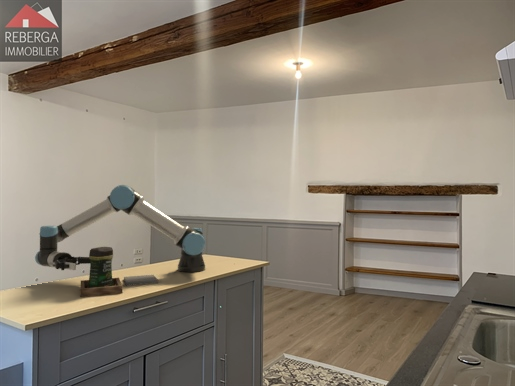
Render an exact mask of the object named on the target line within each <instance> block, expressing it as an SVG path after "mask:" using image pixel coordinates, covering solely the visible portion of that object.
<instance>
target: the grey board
mask: <svg viewBox="0 0 515 386" xmlns="http://www.w3.org/2000/svg"><path fill="white" fill-rule="evenodd" d="M123 281H124V283H125V285H126V286H137V285H151V284H158V283H159V279H158V278H157V277H156V276H155V275H154V274H144V275H142V274H141V275H132V276H131V275H129V276H123Z"/></svg>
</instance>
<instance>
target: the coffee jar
mask: <svg viewBox="0 0 515 386" xmlns="http://www.w3.org/2000/svg"><path fill="white" fill-rule="evenodd" d="M88 253H89V255H88V257H89V259H90V264H89V265H90V267H89V275H88V276H89V278H88V280H89V284H88V287H87V288H95V287H107V286H114V285H113V282H112V278H113V272H112V271H113V269H112V268H113V267H112V265H113V264H112V262H113V258H114V249H113V248H112V247H110V246H99V247H93V248H91V249H90V250H89V252H88Z"/></svg>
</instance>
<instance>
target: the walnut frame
mask: <svg viewBox="0 0 515 386" xmlns="http://www.w3.org/2000/svg"><path fill="white" fill-rule="evenodd" d="M112 282H113V286H107V287H95V288H88V284H89V279H83V280H81V279H80V288H79V289H80V290H79V293H80V295H79V297H80V298H83V297H84V298H85V296H86V297H95V296H105V295H106V296H107V295H116V294H123V284H122V281H121V280H120V277H112Z"/></svg>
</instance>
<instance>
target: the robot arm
mask: <svg viewBox="0 0 515 386" xmlns="http://www.w3.org/2000/svg"><path fill="white" fill-rule="evenodd" d="M120 211H122V212H123V213H126V214H127V215H129V216H131V215H134V216H135V217H137V218H139V219H141V220H142V221H143V222H145V223H146V224H147V225H150V226H151V227H152V228H154V229H155V230H157V231H159V232H160V233H162V234H163V235H165V236H167V237H168V238H170V239H171V240H173V243H174V245H175V246H176V247H178V248H180V258H179V261H178V264H177V271H179V272H183V273H184V272H185V273H195V272H196V273H197V272H202V271H205V270H206V263H205V260H204V258H203V251H204V250H205V247H206V239H205V237H204V236H203V229H202V228H201V227H191V226H189V225H185V226H184V225H182V224H180V223H179V222H177V221H176V220H174V219H172V218H171V217H169V216H168V215H167V214H165V213H164V212H162V211H161V210H159V209H158V208H156V207H154V206H153V205H151V203H148V202H147V201H145V200H144V196H143V195H142V194H140V192H138V191H135V189H133V188H132V187H131V186H129V185H125V184H120V185H119V184H118V185H117V186H115V187H114V188H113V189H112V190H111V191H110V194H109V195H107V197H106V198H105V199H104V200H103V201H101V202H98V203H97V204H96V205H94V206H92V207H90V208H88V209H86V210H85V211H82V212H81V213H79V214H76V215H75V216H74V217H72V218H70V219H67V221H66V220H65V222H63V223H60V224H59V225H42V226H41V227H40V229H39V251H38V252H36V254H35V256H34V259H35V262H36V263H37V265H40V266H43V267H49V268H55V270H61V271H65V270H70V271H76V268H77V266H79V265H80V264H84V265H85V264H88V265H90V259H89V256H72V254H70V253H69V252H64V251H58V244H59V243H60V242H63V241H64V240H65V239H68V238H69V237H71V236H72V235H75V234H76V233H77V232H79V231H82V230H83V229H85V228H88V226H91V225H92V224H94V223H97V222H98V221H99V220H101V219H103V218H105V217H107V216H110V215H111V214H112V213H114V212H115V213H118V212H120Z"/></svg>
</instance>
